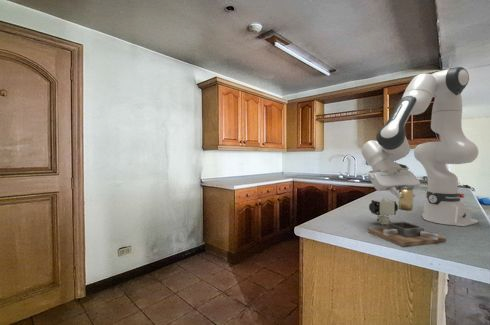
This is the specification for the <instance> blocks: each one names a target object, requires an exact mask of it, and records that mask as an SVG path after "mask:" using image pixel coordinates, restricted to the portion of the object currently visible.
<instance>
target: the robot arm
mask: <svg viewBox="0 0 490 325" xmlns="http://www.w3.org/2000/svg"><path fill="white" fill-rule="evenodd" d="M469 81H470V76H469V72H468V70H467V69H466V68H464V67H463V66H456V67H450V68H448V69H443V70H439V71H436V72H433V73H420V74H417V75H415V76H414V77H413V78H412V80H411V81H410V82H409V83H408V85H407V87H406V88H405V91H404V92H403V94H402V97H401V99H400V100H399V101H398V102H397V104H396V106H395V107H394V109H393V111H392V113H391V115H390V116H389V118H388V119H387V121H386V123H384V124H383V126H381V127H380V129H378V131H377V133H376V137H375V138H376V140H374V139H371V140H368V141H366V142H365V143H364V144H363V145H362V146H361V150H360V152H361V155H362V157H363V158H364V160H365V162H366V163H367V165H369V166H370V168H371V170H370V171H369V172H368V173H367V175H368V177H369V178H370V182H371V184H372V185H373V188H374V189H375V190H376V191H378V192H382V191H384V192H385V191H389V192H390V193H391V194H392V195H394V196H395V197H396V198H397V199H398V200H399V199H400V198H402V197H403V195H402V193H399V186H410V187H413V190H417V189H418V187H420V185H421V182H420V180H419V179H418V178H417V176H416V175H415V174H414V173H413V172H412V171H410V170H409V169H410V168H409V166H408V165H406V164H401V163H398V162H396V161H398V160H399V161H400V159H403V158H405V157H406V156H408V155H409V153H410V151H411V146H410V144H409V141H408V139H407V137H406V132H405V126H406V124H407V123H408V122H407V121H408V120H409V118H410V116H417V115H420V114H423V113H425V111H426V110H427V109H428V107H429V106H430V104H431V102H432V100H433V98H434V101H433V104H432V110H431V118H430V120H431V121H430V129H431V130H432V131H433V132H434V133H436V134H437V135H439V136H440V139H441V141H428V142H423V143H420V144H418V145H417V146H416V147H415V148H414V150H413V156H414V159H416V161H418V162H419V163H420V164H421V166H422V167H423V168H424V170H425V172H426V176H427V190H426V195H425V196H426V197H425V198H426V200H425V201H424V207H423V213H422V214H421V217H422V219H423V220H425V221H428V222H431V223H437V224H439V225H440V224H441V225H449V226H450V225H451V226H457V227H466V226H470V225H475V224H479V220H477V219H476V218H472V210H471V209H470V208H469V207H468V206H467V205H465V204H464V203H463V202H462V201H461V199H464V198H465V194H464V193H459V192H458V189H459V188H458V187H459V186H458V185H459V184H458V183H459V179H458V178H459V177H458V176H457V175H456V173H453V172H451V171H450V170H449V169H448V167H447V165H463V164H469V163H473V162H474V161H475V160H476V159H477V158H478V155H479V148H478V146H477V145H476V144H475V143H474V142H473V141H471V140H470V139H468V138H467V136H466V135H465V134H464V131H463V128H462V126H463V125H462V120H463V118H462V116H463V115H462V114H463V99H462V93H463V91H464V90H465V89H466V87H467V85H468V83H469ZM415 197H416V194H415V193H414V192H413V199H414V198H415Z"/></svg>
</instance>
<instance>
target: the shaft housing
mask: <svg viewBox="0 0 490 325" xmlns="http://www.w3.org/2000/svg"><path fill="white" fill-rule="evenodd" d="M368 233H369V234H371V235H373V236H375V237H378V238H381V239H384V240H385V241H388V242H390V243H392V244H395V245H397V246H400V247H403V248H406V247H407V248H408V247H413V246H415V247H416V246H422V245H423V246H424V245H430V244H439V243H446V242H447V237H445V236H442V235H439V233H435V232H429V231H426V230H425V227H424V226H423V227H422V226H419V225H416V224H413V223H409V222H406V221H399V222H398V221H397V222H389V223H387V224H386V226H383V227H373V228H368Z"/></svg>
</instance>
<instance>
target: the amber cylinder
mask: <svg viewBox="0 0 490 325" xmlns="http://www.w3.org/2000/svg"><path fill="white" fill-rule="evenodd" d="M398 192H399V193H402V195H403V197H402V198H400V199H398V210H401V211H407V212H408V211H409V212H411V211H413V206H414V205H413V201H414V200H413V199H414V198H413V193H414V189H413V187H410V186H399V190H398Z"/></svg>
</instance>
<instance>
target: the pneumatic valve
mask: <svg viewBox="0 0 490 325" xmlns="http://www.w3.org/2000/svg"><path fill="white" fill-rule="evenodd" d="M368 210H369V211H370V212H371V214H373V215H376V223H377V224H380V225H383V226H384V225H387V223H391V221H390V220H391V219H390V217H389V216H392V215H394V216H395V215H396V214H397V211H398V210H399V204H397V202H396V201H395V200H391V199H385V198H381V199H372V200H371V202H370V203H369V205H368Z"/></svg>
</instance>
